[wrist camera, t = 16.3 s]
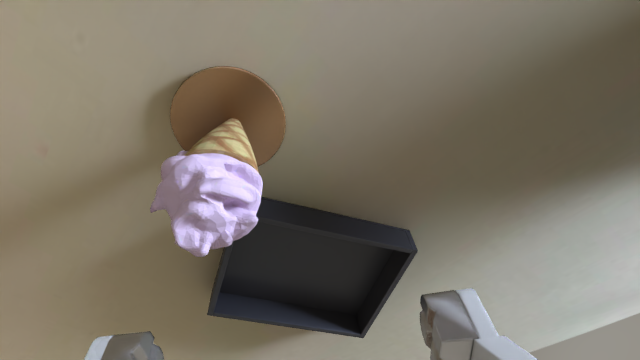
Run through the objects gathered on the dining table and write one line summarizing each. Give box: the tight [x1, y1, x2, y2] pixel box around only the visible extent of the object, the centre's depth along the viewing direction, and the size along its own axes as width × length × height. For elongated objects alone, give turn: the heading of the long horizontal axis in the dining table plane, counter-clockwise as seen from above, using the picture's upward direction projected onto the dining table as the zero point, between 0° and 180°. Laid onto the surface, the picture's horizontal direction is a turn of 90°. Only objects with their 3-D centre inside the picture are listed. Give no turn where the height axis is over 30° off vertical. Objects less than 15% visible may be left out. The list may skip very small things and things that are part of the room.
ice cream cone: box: [150, 118, 263, 257], centre depth 28 cm, size 7×6×15 cm
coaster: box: [170, 66, 286, 167], centre depth 34 cm, size 10×10×1 cm
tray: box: [207, 197, 418, 338], centre depth 43 cm, size 19×15×3 cm
